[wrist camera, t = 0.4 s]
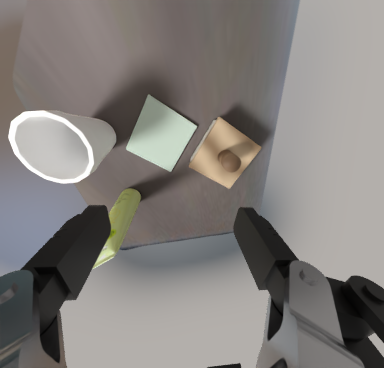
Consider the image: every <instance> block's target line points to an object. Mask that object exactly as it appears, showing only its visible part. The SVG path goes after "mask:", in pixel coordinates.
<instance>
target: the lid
mask: <svg viewBox="0 0 384 368" xmlns="http://www.w3.org/2000/svg"><path fill="white" fill-rule="evenodd" d="M261 148H262V147H260V146H259V145H258V144H256V143H255V142H253V141H252V140H251V139H249V138H248V137H247V136H245V135H244V134H242V133H241V132H240V131H238V130H237V129H236V128H234V127H233V126H231V125H230V124H229V123H227V122H226V121H224V120H223V119H222V118H220V117H218V118H217V120H216V122H215V123H214V125H213V126H212V128H211V130H210V131H209V133H208V134H207V136H206V138H205V139H204V141H203V143H202V144H201V146H200V147H199V149H198V151H197V152H196V154H195V156H194V157H193V159H192V160H191V162H190V164H189V167H190V168H192V169H194V170H196V171H198V172H199V173H201V174H203V175H205V176H207V177H209V178H210V179H212V180H214V181H216V182H218V183H220V184H222V185H223V186H225V187H227V188H229V189H230V187H231V186H232V185H233V183H234V182H235V181H236V180H237V178H238V177H239V176H240V175H241V173H242V172H243V171H244V170H245V168H246V167H247V166H248V164H249V163H250V162H251V161H252V159H253V158H254V157H255V156H256V154H257V153H258V152H259V150H260V149H261Z"/></svg>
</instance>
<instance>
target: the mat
mask: <svg viewBox="0 0 384 368" xmlns="http://www.w3.org/2000/svg"><path fill="white" fill-rule="evenodd" d="M196 128H197V126H196V125H194V124H193V123H191V122H190V121H188V120H187V119H185V118H184V117H182V116H181V115H179V114H178V113H176V112H175V111H173V110H172V109H170V108H169V107H167V106H166V105H164V104H163V103H161V102H160V101H158V100H156V99H155V98H153V97H152V96H150V95H149V94H148V97H147V99H146V101H145V104H144V106H143V109H142V111H141V113H140V116H139V118H138V121H137V123H136V125H135V128H134V130H133V133H132V135H131V137H130V140H129V142H128V145H127V147H126V150H128V151H130V152H132V153H134V154H136V155H138V156H140V157H142V158H144V159H146V160H148V161H150V162H152V163H154V164H156V165H158V166H160V167H162V168H164V169H166V170H168V171H170V172H171V171H172V169H173V167H174V166H175V164H176V162H177V160H178V159H179V157H180V155H181V154H182V152H183V150H184V148H185V147H186V145H187V143H188V141H189V140H190V138H191V136H192V134H193V133H194V131H195V129H196Z"/></svg>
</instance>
